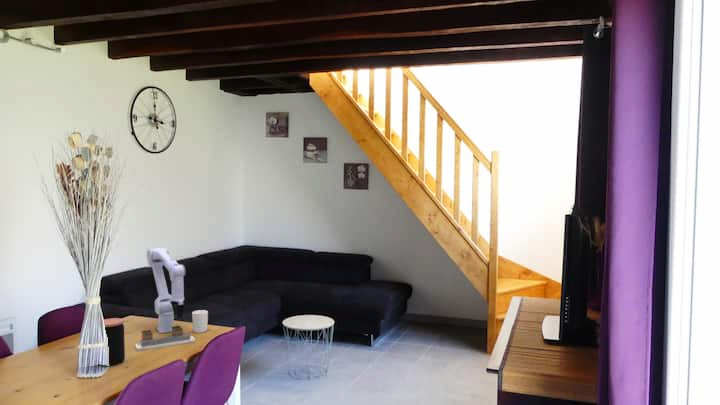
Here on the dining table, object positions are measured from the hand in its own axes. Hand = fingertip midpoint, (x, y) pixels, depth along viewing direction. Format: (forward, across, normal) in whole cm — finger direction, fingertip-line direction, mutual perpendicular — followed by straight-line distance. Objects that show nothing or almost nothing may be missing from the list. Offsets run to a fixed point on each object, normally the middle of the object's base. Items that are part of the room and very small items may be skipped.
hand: (178, 316), depth 265 cm
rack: (+10, +2, -8) cm, 13 cm away
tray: (+10, +10, -8) cm, 16 cm away
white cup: (+11, -5, +12) cm, 17 cm away
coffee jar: (+11, +23, -33) cm, 42 cm away
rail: (+9, +9, -8) cm, 15 cm away
